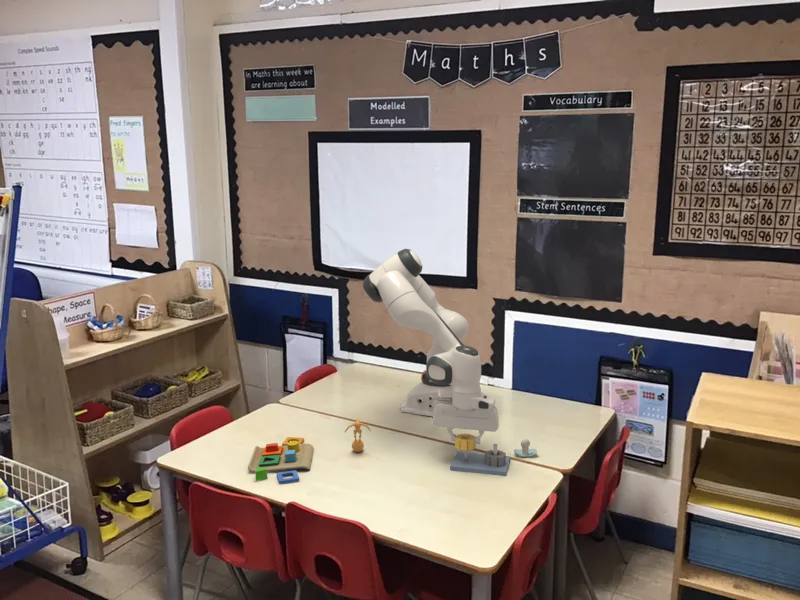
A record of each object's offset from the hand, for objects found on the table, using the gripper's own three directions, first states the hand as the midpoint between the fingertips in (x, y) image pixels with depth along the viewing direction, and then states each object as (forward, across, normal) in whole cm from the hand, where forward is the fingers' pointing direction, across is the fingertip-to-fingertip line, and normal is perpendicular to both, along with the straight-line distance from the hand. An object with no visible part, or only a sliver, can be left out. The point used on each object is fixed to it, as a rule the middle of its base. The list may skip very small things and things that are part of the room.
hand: (465, 441), depth 219 cm
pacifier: (+8, +17, +11) cm, 22 cm away
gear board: (+7, +5, 0) cm, 9 cm away
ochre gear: (+2, 0, 0) cm, 2 cm away
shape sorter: (+8, -56, -12) cm, 58 cm away
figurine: (+8, -35, 0) cm, 36 cm away
